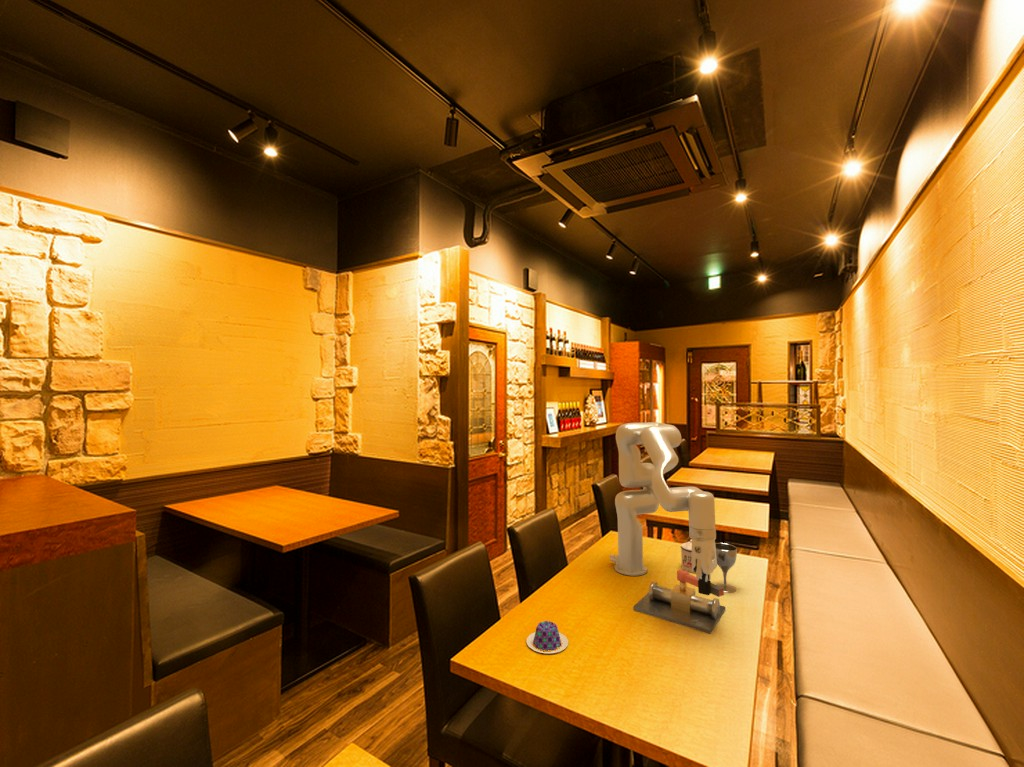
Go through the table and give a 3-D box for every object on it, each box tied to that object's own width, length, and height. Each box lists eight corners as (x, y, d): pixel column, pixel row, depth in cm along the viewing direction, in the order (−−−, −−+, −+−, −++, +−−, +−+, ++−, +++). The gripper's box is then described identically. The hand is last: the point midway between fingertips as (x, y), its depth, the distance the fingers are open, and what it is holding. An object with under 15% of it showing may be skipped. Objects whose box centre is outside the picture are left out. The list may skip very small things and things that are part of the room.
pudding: (518, 642, 131) (517, 624, 131) (548, 628, 138) (548, 611, 138) (545, 661, 121) (545, 642, 121) (577, 645, 129) (576, 627, 129)
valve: (633, 609, 148) (632, 580, 148) (653, 590, 162) (653, 563, 162) (710, 633, 133) (709, 600, 133) (725, 609, 147) (724, 580, 147)
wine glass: (734, 595, 157) (734, 552, 158) (710, 589, 162) (710, 547, 162) (739, 587, 164) (738, 545, 164) (716, 581, 169) (715, 541, 169)
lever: (674, 578, 149) (674, 571, 149) (682, 576, 150) (682, 569, 150) (717, 597, 135) (717, 589, 135) (725, 595, 137) (724, 587, 137)
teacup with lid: (679, 571, 179) (678, 541, 179) (682, 563, 187) (682, 534, 187) (712, 576, 173) (711, 546, 173) (714, 568, 181) (713, 539, 181)
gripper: (707, 540, 130) (710, 605, 129) (722, 529, 141) (724, 588, 141) (681, 536, 135) (683, 598, 134) (697, 525, 146) (699, 582, 145)
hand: (704, 593), depth 137 cm, fingers closed
